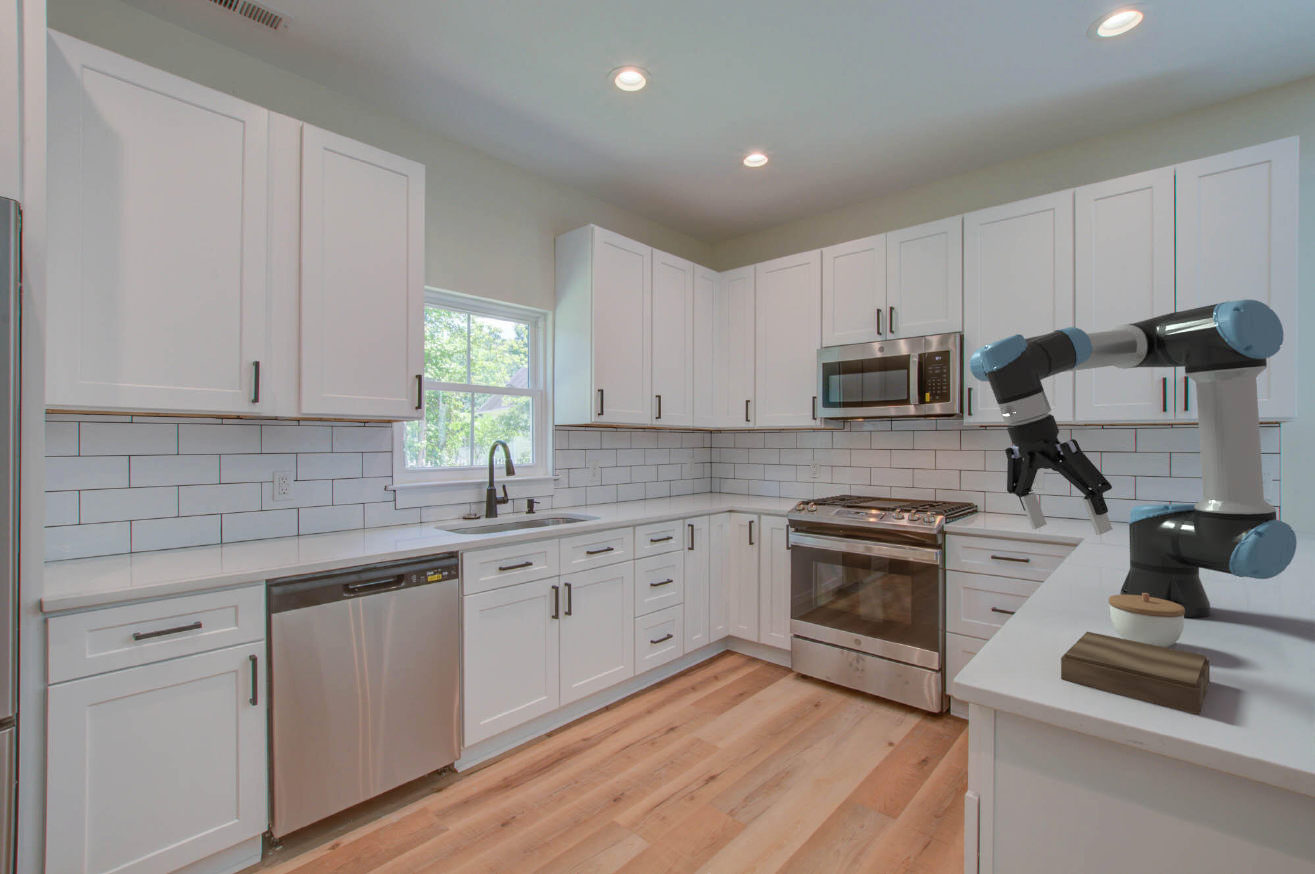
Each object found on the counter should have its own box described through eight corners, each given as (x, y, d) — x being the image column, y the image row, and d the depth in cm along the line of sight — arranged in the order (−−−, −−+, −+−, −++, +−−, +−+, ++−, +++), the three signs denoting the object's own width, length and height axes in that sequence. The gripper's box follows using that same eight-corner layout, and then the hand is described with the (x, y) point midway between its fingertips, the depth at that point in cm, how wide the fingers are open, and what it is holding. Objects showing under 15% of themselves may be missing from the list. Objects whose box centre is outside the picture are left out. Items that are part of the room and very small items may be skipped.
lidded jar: (1200, 657, 100) (1200, 603, 100) (1129, 652, 102) (1129, 600, 102) (1160, 636, 111) (1160, 587, 111) (1096, 632, 113) (1096, 584, 113)
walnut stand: (1084, 652, 102) (1084, 630, 102) (1209, 680, 90) (1209, 655, 90) (1061, 678, 91) (1061, 653, 91) (1199, 714, 80) (1199, 685, 80)
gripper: (964, 432, 117) (1001, 531, 117) (1071, 417, 93) (1118, 542, 92) (995, 420, 118) (1031, 518, 118) (1108, 403, 94) (1155, 526, 93)
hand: (1070, 529), depth 105 cm, fingers open, 13 cm apart
